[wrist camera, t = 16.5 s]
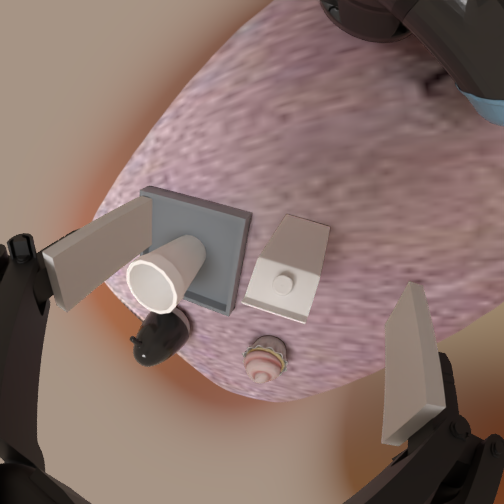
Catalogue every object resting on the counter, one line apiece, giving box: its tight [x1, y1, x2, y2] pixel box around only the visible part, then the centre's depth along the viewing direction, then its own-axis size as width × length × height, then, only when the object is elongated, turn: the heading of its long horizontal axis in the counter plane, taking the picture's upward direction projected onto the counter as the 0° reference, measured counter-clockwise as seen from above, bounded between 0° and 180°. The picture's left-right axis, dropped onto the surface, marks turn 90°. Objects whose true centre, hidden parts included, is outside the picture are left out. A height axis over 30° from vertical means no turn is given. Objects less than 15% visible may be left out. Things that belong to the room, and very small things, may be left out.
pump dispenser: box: [130, 308, 190, 367], centre depth 57 cm, size 10×10×15 cm
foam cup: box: [127, 235, 206, 314], centre depth 47 cm, size 10×9×13 cm
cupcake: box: [242, 336, 288, 383], centre depth 54 cm, size 9×9×10 cm
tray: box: [140, 186, 252, 316], centre depth 52 cm, size 20×20×3 cm
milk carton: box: [241, 214, 330, 324], centre depth 38 cm, size 7×7×19 cm
